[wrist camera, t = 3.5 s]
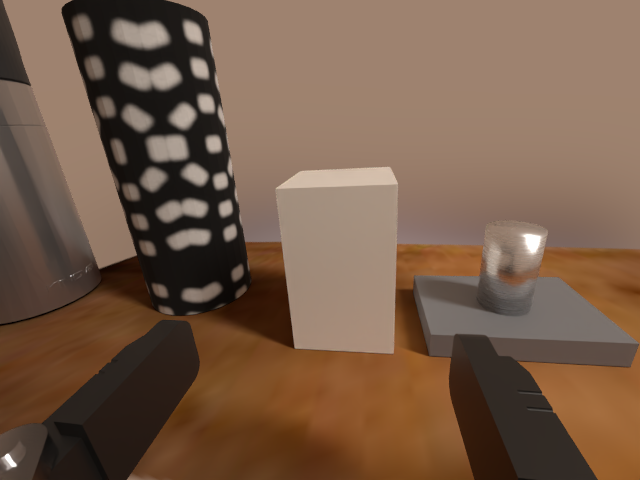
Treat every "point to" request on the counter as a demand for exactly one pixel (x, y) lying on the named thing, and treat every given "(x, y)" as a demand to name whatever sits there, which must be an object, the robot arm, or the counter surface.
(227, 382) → the counter surface
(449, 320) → the base plate
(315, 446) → the counter surface
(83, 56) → the white-spotted black cylinder
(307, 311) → the block
